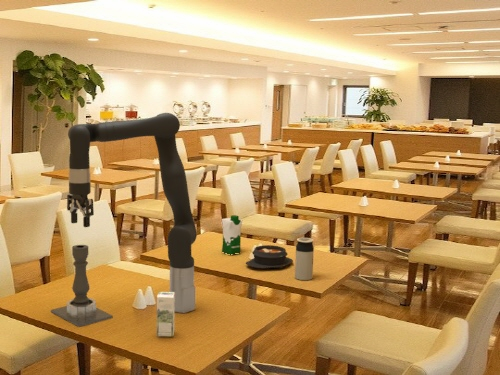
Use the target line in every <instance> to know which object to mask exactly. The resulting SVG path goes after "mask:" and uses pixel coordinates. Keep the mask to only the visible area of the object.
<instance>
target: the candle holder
mask: <svg viewBox="0 0 500 375" xmlns="http://www.w3.org/2000/svg"><path fill="white" fill-rule="evenodd" d="M71 249H72V250H71V253H72V254H71V256H72V258H73V259H74V262H73V266H74V269H75V271H74V272H75V273H74V274H75V275H74V279H73V283H72V287H71V289H72V292H73V294H74V296H75V297H74V298H72V299H73V302H74V303H73V304H72V305H73V306H86V305H90V303H89V302H88V301H89V298H90V297H88V296H87V295H88V292H89V291H90V284H89V278H88V276H87V265H88V264H89V262H88V261H87V259H88V257H89V246H88V245H87V244H76V245H73V246H72V247H71Z"/></svg>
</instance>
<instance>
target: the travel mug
mask: <svg viewBox="0 0 500 375" xmlns="http://www.w3.org/2000/svg"><path fill="white" fill-rule="evenodd" d="M296 241H297V244H296V245H295V266H294V278H295V279H296V280H298V279H299V281H310V280H312V279H313V273H314V272H313V271H314V249H315V248H314V244H313V242H314V241H315V240H314V239H313V238H310V237H299V238H298V237H297V239H296Z"/></svg>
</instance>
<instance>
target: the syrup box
mask: <svg viewBox="0 0 500 375" xmlns="http://www.w3.org/2000/svg"><path fill="white" fill-rule="evenodd" d="M174 311H175V292H170V291H158V293H157V296H156V337H159V338H160V337H161V338H164V337H165V338H169V337H170V338H173V337H174V333H175V312H174Z"/></svg>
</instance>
